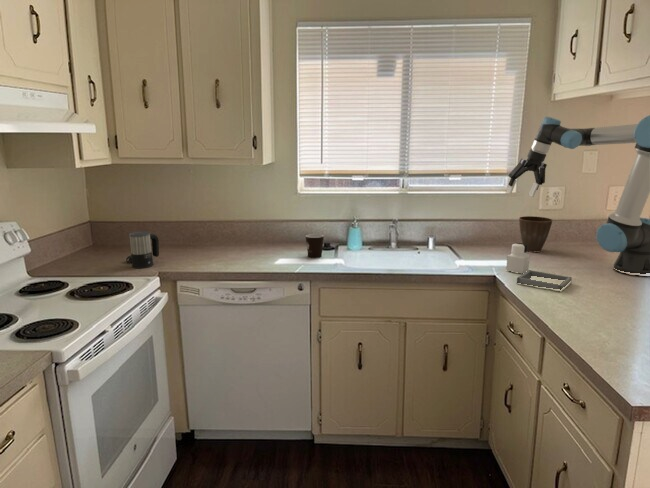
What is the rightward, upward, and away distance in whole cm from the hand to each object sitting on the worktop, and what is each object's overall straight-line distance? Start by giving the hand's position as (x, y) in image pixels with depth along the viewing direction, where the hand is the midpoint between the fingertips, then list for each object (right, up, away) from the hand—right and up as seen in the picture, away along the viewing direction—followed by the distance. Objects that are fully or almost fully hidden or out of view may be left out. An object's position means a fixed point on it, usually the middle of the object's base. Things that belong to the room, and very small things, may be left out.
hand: (519, 194), depth 232 cm
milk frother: (-177, -33, -12) cm, 180 cm away
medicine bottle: (-12, -35, -26) cm, 45 cm away
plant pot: (+10, -27, +10) cm, 31 cm away
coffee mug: (-98, -29, +2) cm, 102 cm away
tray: (-8, -39, -43) cm, 58 cm away
